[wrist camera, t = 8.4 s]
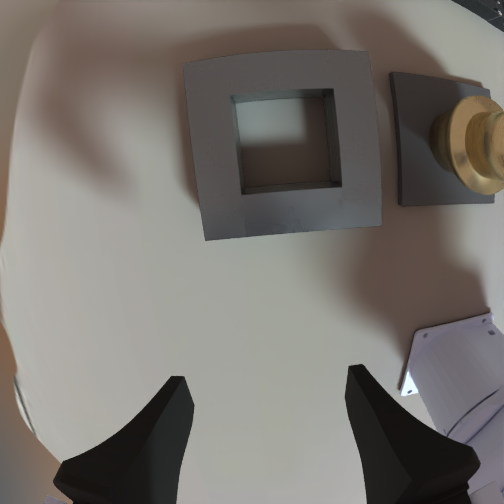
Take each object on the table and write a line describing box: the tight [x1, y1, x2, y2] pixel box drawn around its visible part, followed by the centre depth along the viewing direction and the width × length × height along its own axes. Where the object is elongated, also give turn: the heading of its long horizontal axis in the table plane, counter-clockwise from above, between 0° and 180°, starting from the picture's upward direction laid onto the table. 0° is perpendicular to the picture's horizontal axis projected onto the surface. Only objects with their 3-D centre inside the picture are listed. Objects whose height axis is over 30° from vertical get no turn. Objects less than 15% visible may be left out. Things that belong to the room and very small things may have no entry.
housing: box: [183, 50, 382, 241], centre depth 16 cm, size 10×10×3 cm
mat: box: [389, 72, 495, 206], centre depth 16 cm, size 9×9×1 cm
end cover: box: [429, 96, 504, 195], centre depth 12 cm, size 6×6×8 cm
